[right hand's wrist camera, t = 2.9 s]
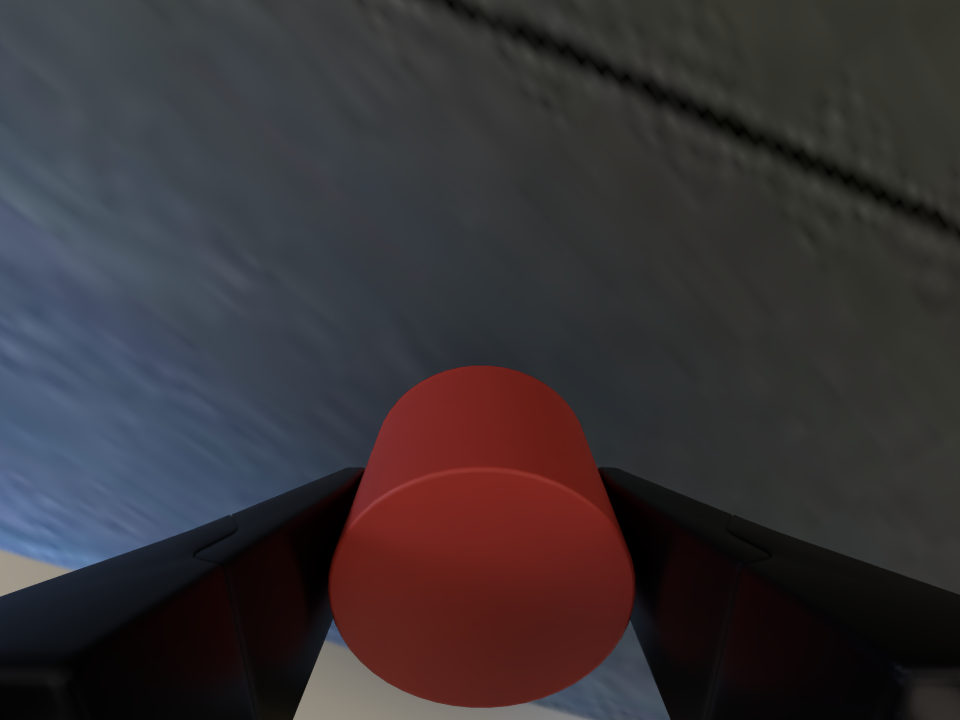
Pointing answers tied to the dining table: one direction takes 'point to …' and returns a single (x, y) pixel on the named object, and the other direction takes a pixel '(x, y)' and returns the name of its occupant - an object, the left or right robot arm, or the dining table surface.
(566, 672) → the canister
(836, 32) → the dining table surface
